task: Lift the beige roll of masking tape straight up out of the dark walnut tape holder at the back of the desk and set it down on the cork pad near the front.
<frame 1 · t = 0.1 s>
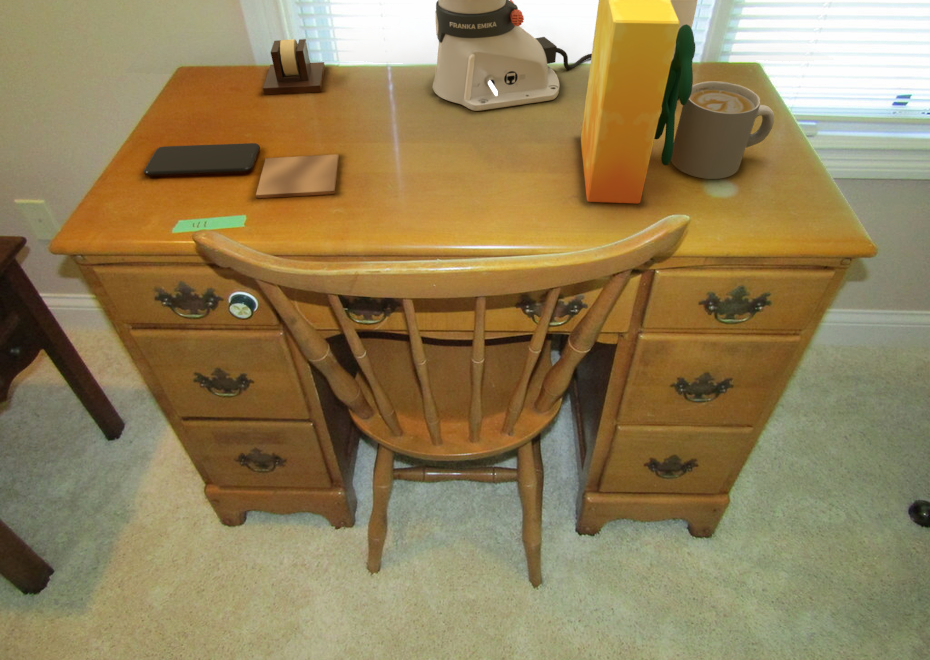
cork pad: (299, 177, 93), on the table
mottled yellow carton: (625, 171, 93), on the table
tape roll: (294, 74, 115), point 1 cm above the table, touching tape holder
water bottle: (655, 91, 111), on the table
coffee mug: (715, 162, 95), on the table
tape holder: (295, 81, 116), on the table
smartphone: (204, 163, 96), on the table
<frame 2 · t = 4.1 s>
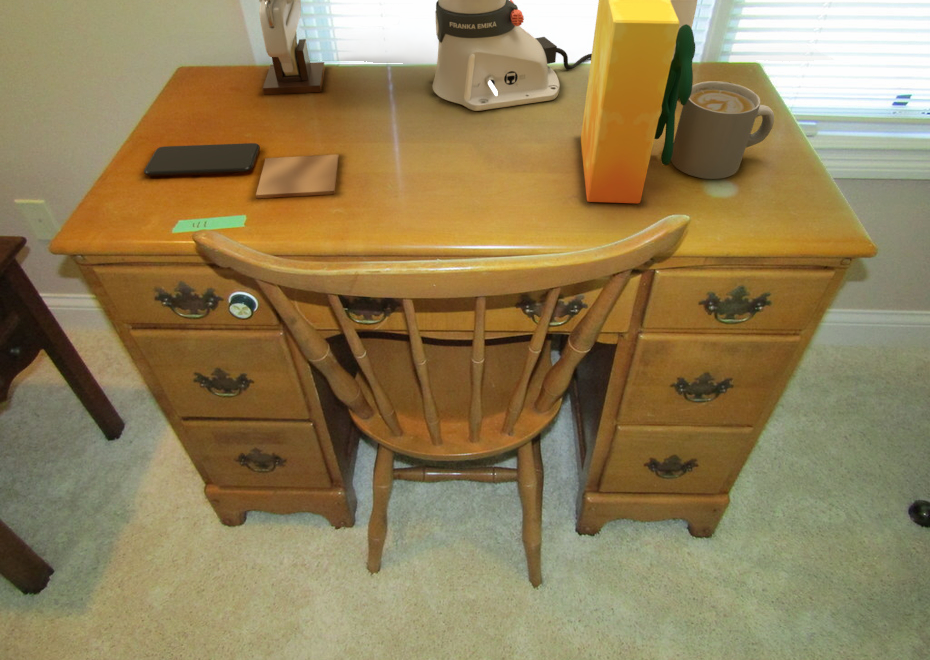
hand: (291, 62, 113), 3 cm above the table, tool pointing down, fingers closed on tape roll, 6 cm apart
tape roll: (294, 74, 115), point 1 cm above the table, touching gripper, tape holder
everything else where it was.
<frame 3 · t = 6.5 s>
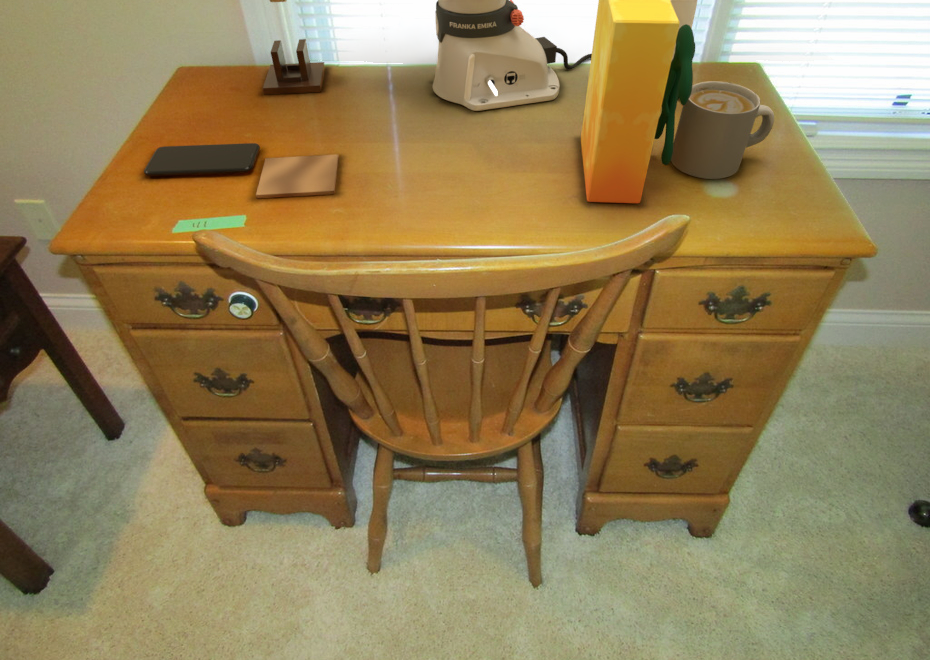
tape roll: (279, 1, 105), point 14 cm above the table, touching gripper
everything else where it was.
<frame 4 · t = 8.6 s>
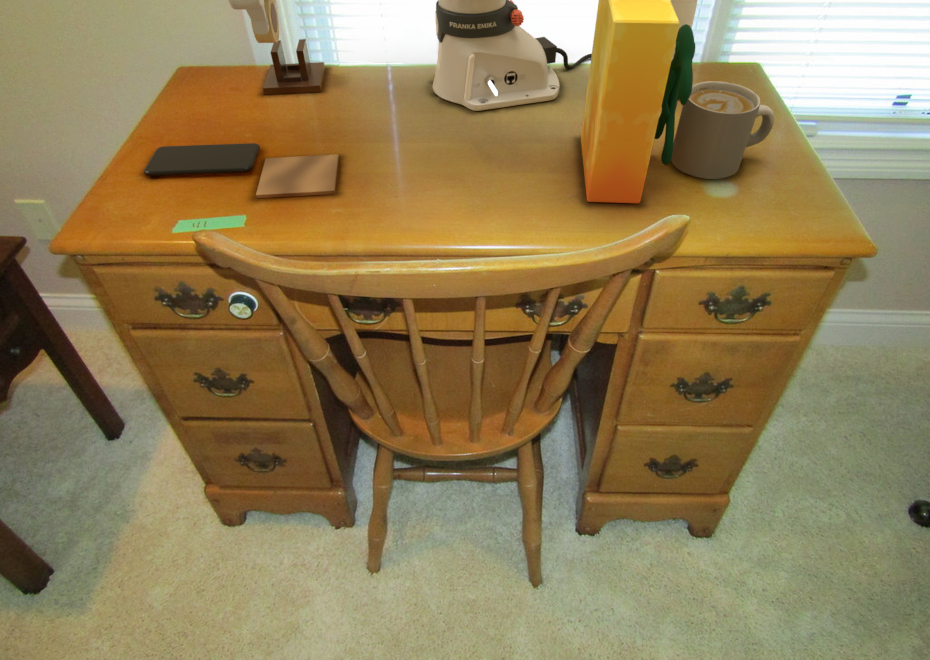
hand: (267, 22, 84), 19 cm above the table, tool pointing down, fingers closed on tape roll, 6 cm apart
tape roll: (269, 41, 85), point 17 cm above the table, touching gripper
everything else where it was.
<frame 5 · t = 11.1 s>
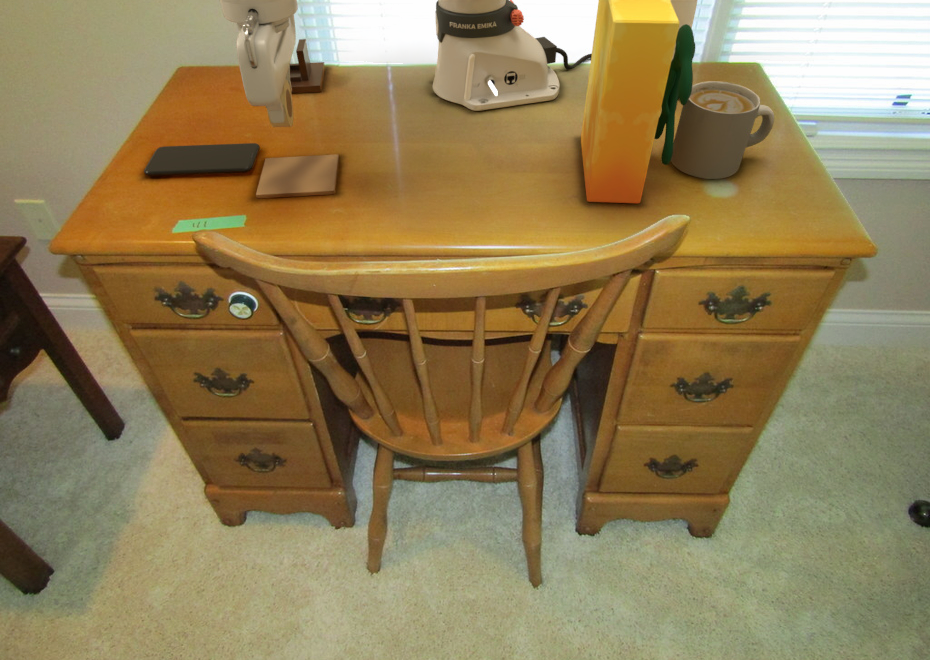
hand: (282, 107, 85), 11 cm above the table, tool pointing down, fingers closed on tape roll, 6 cm apart
tape roll: (284, 124, 87), point 8 cm above the table, touching gripper
everything else where it was.
when the fingers open (3 cm above the table, at t = 13.3 s): tape roll stays where it is, resting on cork pad.
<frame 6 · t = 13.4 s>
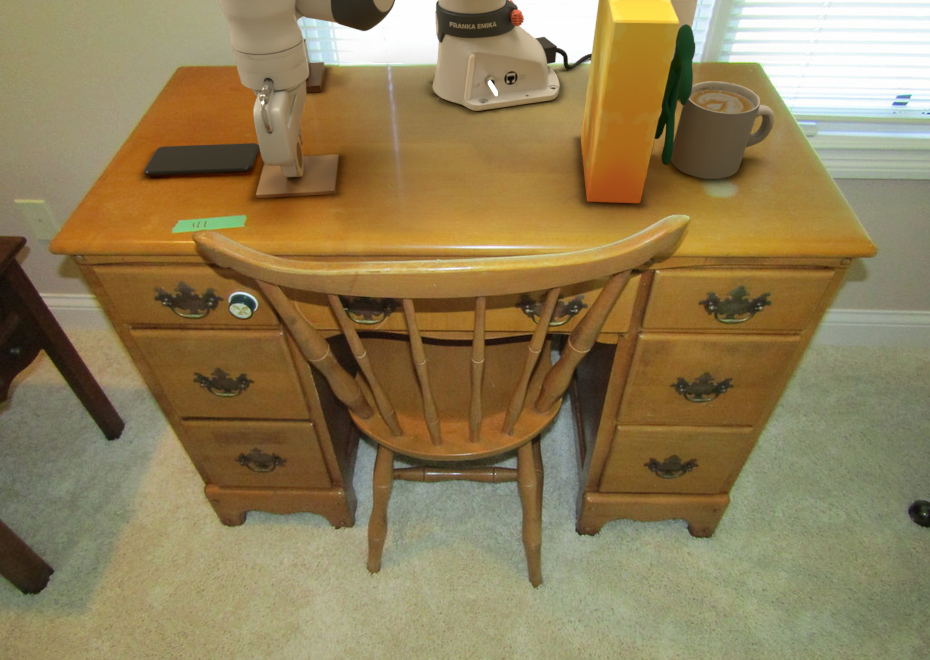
hand: (294, 160, 91), 3 cm above the table, tool pointing down, fingers open, 6 cm apart
tape roll: (295, 173, 92), point 1 cm above the table, touching cork pad
everything else where it was.
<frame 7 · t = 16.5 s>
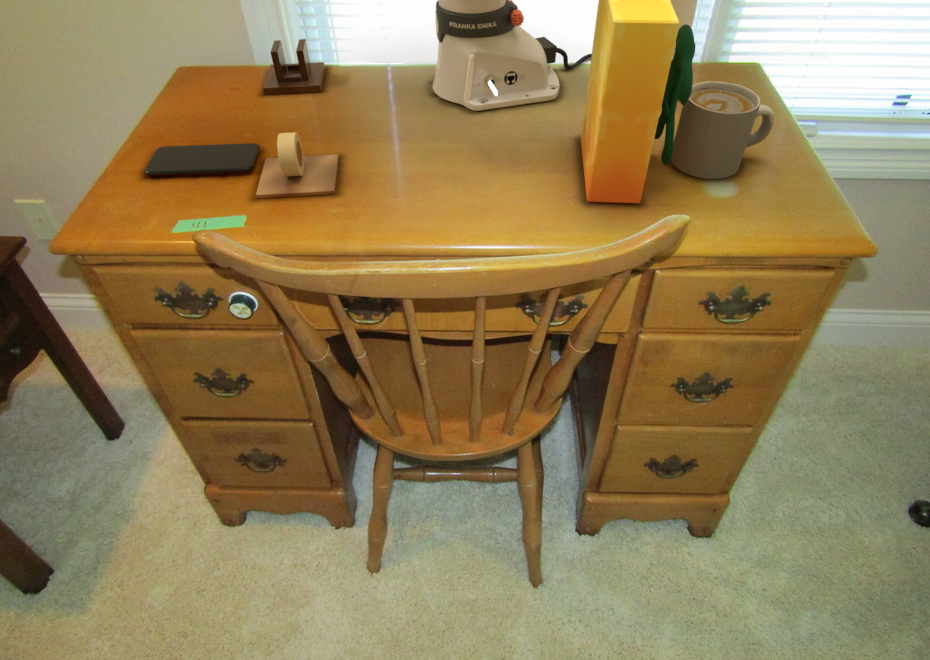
nothing on the table moved.
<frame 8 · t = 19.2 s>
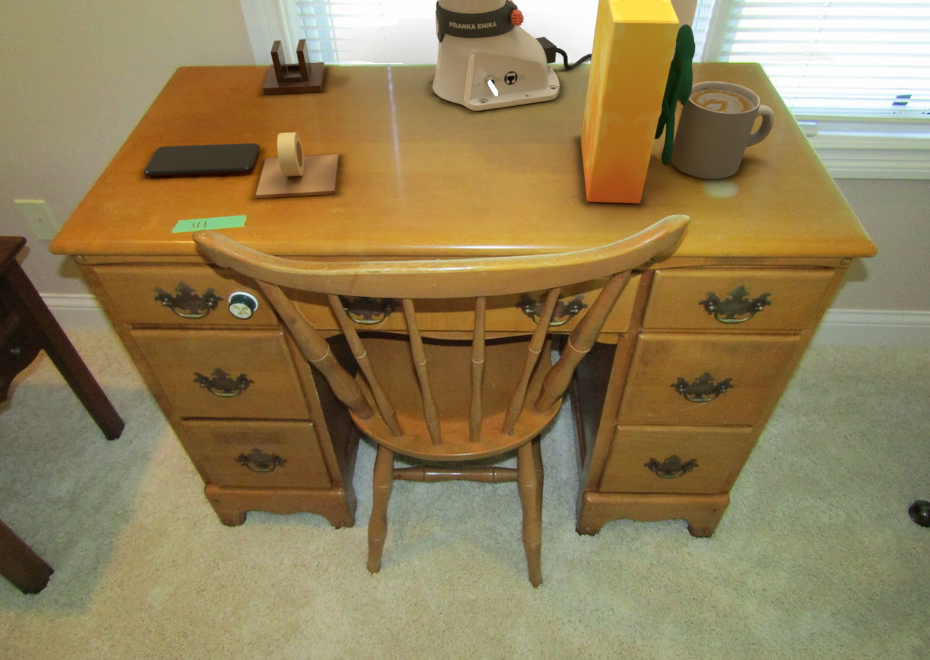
nothing on the table moved.
at the end: tape roll inside the target area on the cork pad (0.5 cm from its centre), point 0.6 cm above the cork pad's base; tape roll touching cork pad; the gripper is holding nothing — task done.
